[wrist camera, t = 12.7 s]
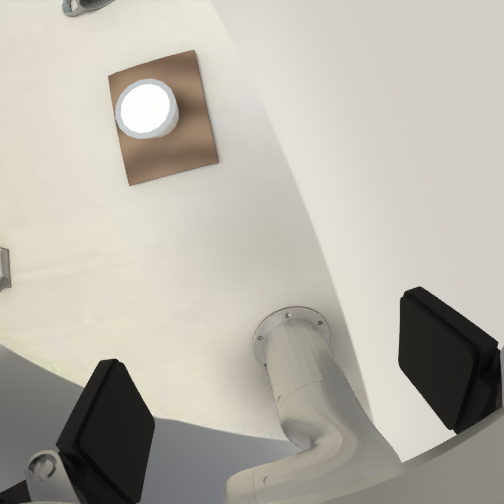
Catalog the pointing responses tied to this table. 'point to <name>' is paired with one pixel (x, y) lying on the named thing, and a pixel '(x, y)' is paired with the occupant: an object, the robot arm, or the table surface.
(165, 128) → the white short cylinder
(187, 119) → the walnut board
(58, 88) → the table surface
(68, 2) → the ceramic mug
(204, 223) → the table surface
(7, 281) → the skyscraper
